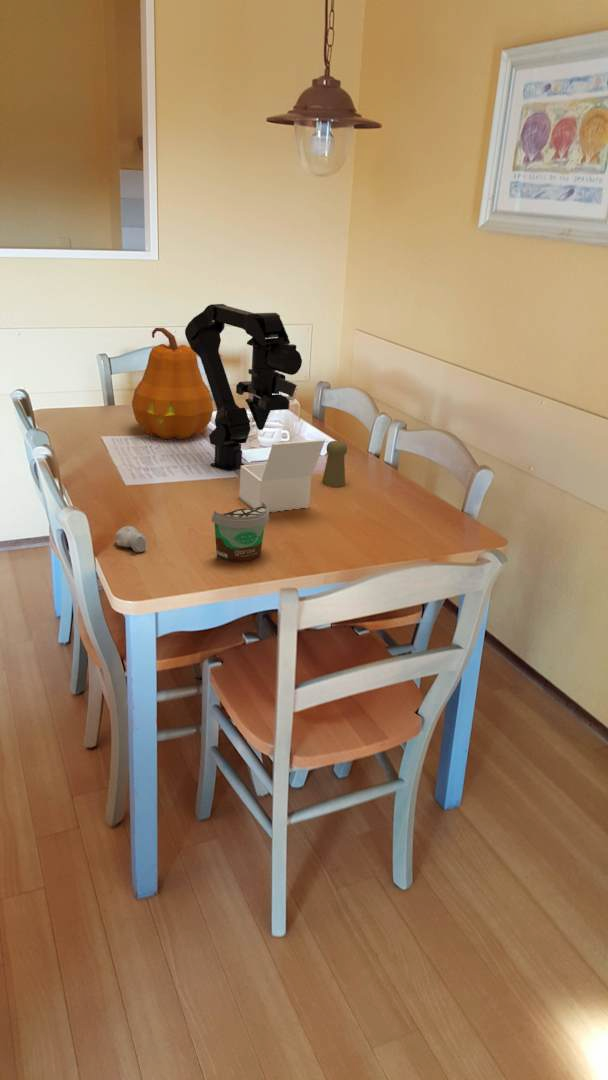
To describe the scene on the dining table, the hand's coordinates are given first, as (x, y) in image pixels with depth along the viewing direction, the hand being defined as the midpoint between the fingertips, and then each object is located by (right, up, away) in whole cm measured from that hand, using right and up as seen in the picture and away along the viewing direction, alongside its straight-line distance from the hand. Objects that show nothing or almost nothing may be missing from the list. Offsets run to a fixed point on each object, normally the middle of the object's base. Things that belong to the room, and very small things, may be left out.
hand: (260, 429), depth 202 cm
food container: (-1, -31, -39) cm, 50 cm away
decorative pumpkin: (-28, +4, +38) cm, 47 cm away
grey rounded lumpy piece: (-24, -29, -38) cm, 54 cm away
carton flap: (+8, -10, -21) cm, 25 cm away
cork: (+18, -13, +6) cm, 23 cm away
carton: (+4, -19, -10) cm, 21 cm away
